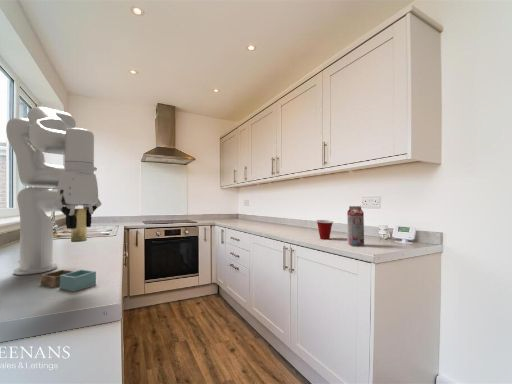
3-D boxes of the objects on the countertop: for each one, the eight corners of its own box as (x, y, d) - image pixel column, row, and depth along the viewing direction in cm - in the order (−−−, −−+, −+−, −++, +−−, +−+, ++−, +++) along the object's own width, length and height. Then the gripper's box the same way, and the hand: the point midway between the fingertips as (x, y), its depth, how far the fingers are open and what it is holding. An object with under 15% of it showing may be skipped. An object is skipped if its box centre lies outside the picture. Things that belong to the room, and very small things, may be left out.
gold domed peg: (68, 241, 77) (68, 209, 78) (81, 239, 81) (81, 208, 81) (76, 242, 76) (76, 209, 76) (89, 240, 80) (89, 208, 80)
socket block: (40, 284, 80) (40, 275, 80) (63, 278, 86) (63, 269, 86) (53, 287, 77) (53, 277, 78) (76, 280, 84) (76, 271, 84)
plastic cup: (324, 240, 158) (324, 221, 159) (313, 238, 168) (312, 220, 168) (337, 239, 164) (337, 220, 164) (325, 237, 173) (324, 219, 173)
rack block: (59, 288, 76) (59, 275, 76) (82, 281, 82) (82, 269, 83) (74, 291, 74) (74, 277, 74) (95, 284, 80) (95, 271, 80)
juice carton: (364, 246, 139) (363, 206, 140) (352, 246, 140) (351, 206, 140) (359, 244, 146) (358, 206, 147) (347, 244, 146) (347, 206, 147)
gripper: (97, 172, 88) (96, 224, 88) (41, 166, 73) (40, 230, 72) (112, 171, 85) (111, 225, 85) (57, 165, 70) (56, 231, 69)
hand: (78, 227), depth 79 cm, fingers closed on gold domed peg, 4 cm apart
